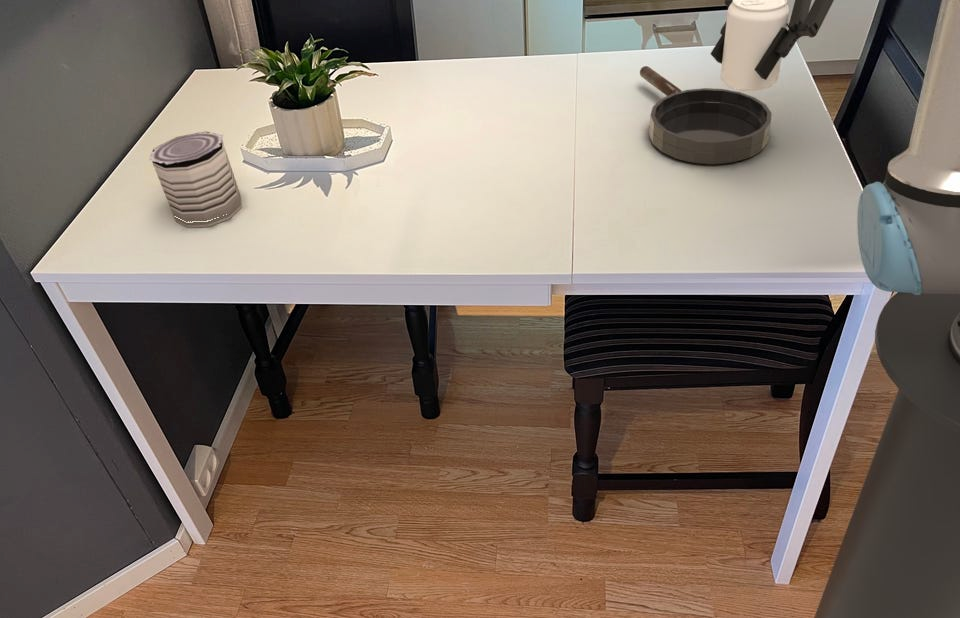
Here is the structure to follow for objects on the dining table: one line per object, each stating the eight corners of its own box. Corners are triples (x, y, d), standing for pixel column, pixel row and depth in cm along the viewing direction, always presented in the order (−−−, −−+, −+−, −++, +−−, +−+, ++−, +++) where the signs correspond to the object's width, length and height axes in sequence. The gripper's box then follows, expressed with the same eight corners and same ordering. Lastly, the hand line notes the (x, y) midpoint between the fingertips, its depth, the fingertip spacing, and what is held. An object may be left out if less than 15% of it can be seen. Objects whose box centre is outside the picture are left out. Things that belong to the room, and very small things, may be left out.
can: (172, 234, 125) (145, 168, 118) (175, 199, 134) (150, 135, 126) (244, 219, 127) (222, 153, 119) (242, 185, 136) (222, 121, 128)
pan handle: (684, 101, 141) (685, 89, 139) (673, 104, 140) (674, 92, 139) (647, 74, 150) (648, 63, 149) (637, 76, 150) (637, 65, 148)
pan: (791, 149, 130) (796, 124, 127) (687, 178, 126) (690, 152, 123) (724, 102, 144) (727, 79, 141) (629, 127, 140) (630, 104, 137)
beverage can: (783, 92, 113) (798, 7, 105) (726, 96, 113) (736, 12, 106) (769, 68, 119) (781, -13, 111) (714, 72, 119) (723, -9, 112)
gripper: (907, -54, 104) (806, 100, 108) (781, -79, 117) (695, 59, 121) (893, -88, 99) (787, 75, 103) (762, -111, 112) (673, 35, 116)
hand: (737, 66), depth 112 cm, fingers closed on beverage can, 7 cm apart
